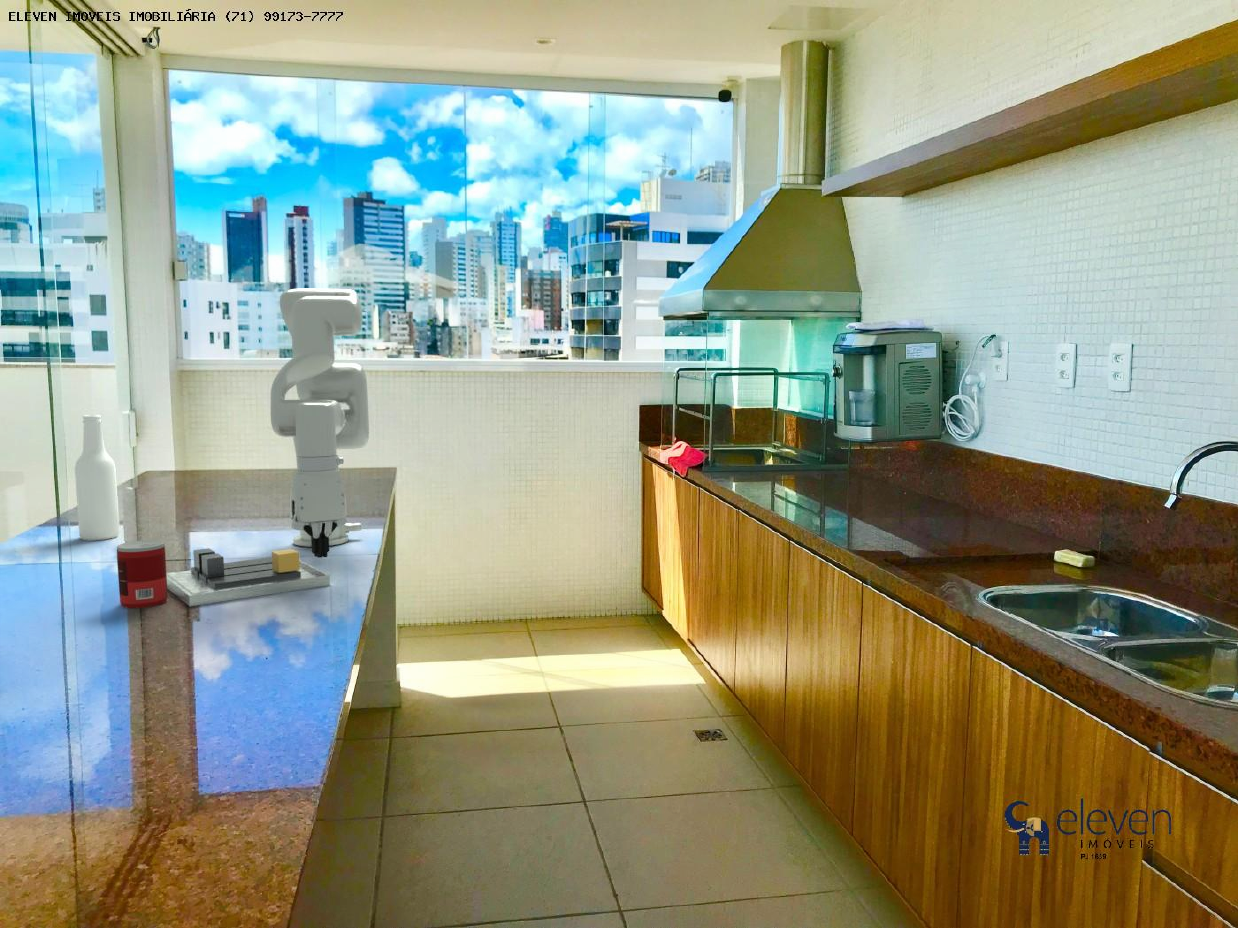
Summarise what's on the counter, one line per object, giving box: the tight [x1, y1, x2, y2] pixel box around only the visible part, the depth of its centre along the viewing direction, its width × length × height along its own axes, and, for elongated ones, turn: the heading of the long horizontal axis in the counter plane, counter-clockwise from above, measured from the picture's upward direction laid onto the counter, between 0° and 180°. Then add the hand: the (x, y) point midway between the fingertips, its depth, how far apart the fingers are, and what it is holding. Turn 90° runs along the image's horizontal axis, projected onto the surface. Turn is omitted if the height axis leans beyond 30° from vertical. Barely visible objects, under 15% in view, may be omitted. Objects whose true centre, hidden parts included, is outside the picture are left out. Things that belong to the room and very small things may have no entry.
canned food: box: [116, 539, 168, 609], centre depth 179 cm, size 8×8×11 cm
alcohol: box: [74, 414, 121, 542], centre depth 240 cm, size 9×9×30 cm
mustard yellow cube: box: [271, 548, 301, 573], centre depth 192 cm, size 4×4×4 cm
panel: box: [166, 547, 331, 607], centre depth 193 cm, size 26×21×6 cm
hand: (320, 556), depth 195 cm, fingers closed
